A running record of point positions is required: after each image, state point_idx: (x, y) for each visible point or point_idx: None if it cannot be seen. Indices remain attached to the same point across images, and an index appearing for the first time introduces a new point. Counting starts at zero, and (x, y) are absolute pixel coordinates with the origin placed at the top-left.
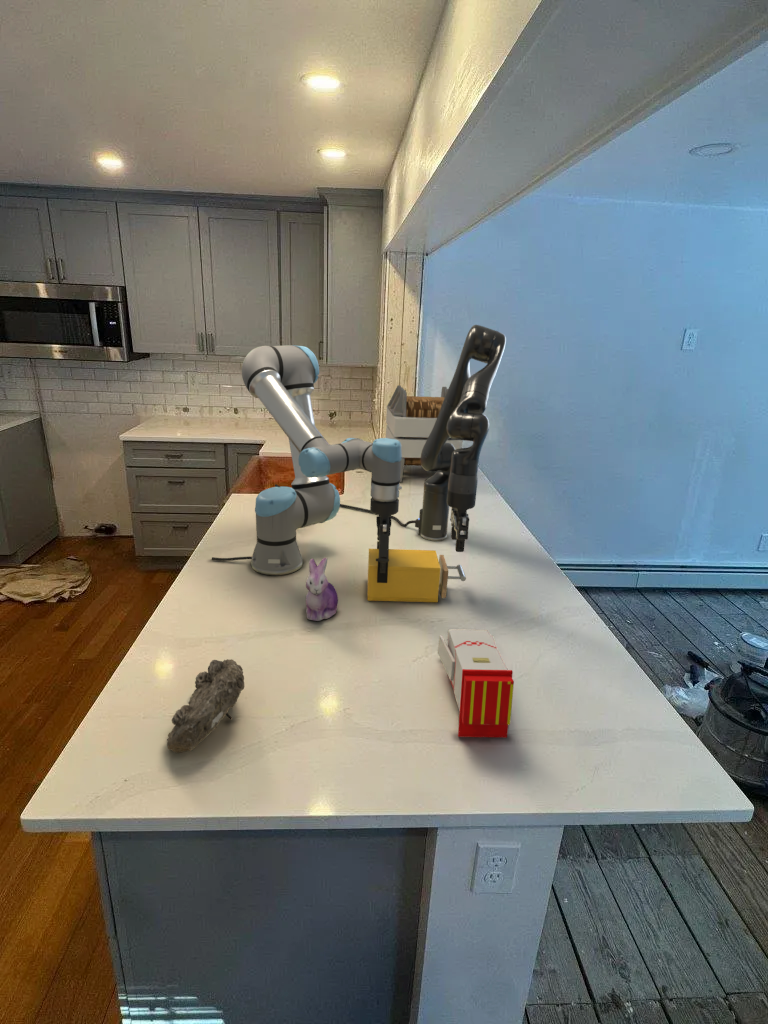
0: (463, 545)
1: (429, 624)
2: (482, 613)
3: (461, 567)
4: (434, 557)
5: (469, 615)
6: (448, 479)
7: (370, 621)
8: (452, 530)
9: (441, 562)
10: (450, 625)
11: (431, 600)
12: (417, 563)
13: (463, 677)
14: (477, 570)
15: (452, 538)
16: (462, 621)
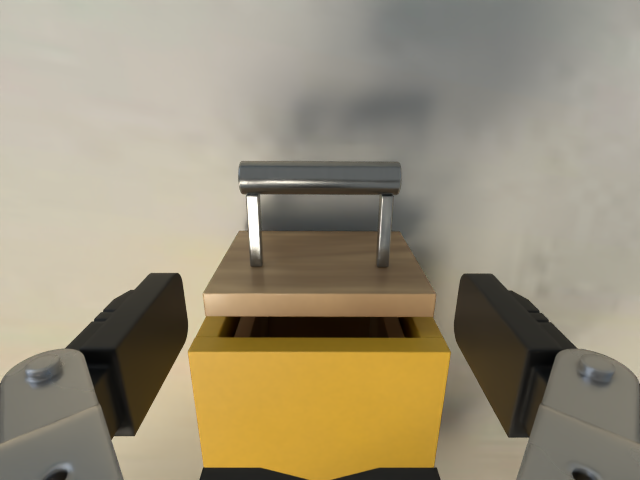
0: (551, 323)
1: (558, 301)
2: (508, 79)
3: (274, 173)
4: (300, 368)
5: (517, 144)
6: None
7: (510, 455)
8: (151, 396)
9: (310, 314)
10: (579, 231)
11: None
12: (388, 453)
13: None
14: (44, 9)
15: (185, 330)
16: (559, 181)
